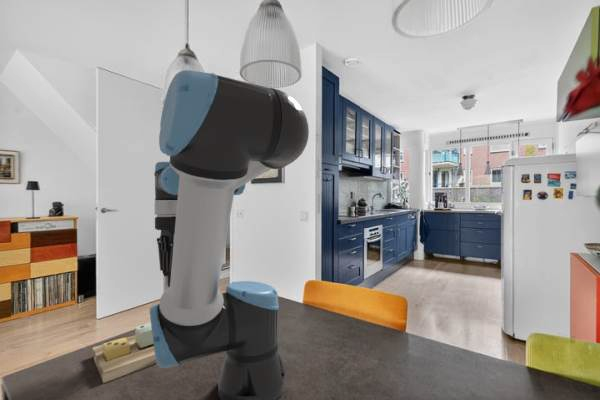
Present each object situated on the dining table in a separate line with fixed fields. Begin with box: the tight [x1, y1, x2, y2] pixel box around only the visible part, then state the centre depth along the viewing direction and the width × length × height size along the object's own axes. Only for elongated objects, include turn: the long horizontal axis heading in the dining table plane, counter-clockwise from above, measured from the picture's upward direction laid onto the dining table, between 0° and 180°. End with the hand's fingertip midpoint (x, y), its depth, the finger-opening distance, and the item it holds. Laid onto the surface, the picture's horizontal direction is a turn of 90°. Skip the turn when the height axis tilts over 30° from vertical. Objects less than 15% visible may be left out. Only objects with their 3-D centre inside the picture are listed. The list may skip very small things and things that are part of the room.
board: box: [92, 334, 157, 384], centre depth 79 cm, size 15×23×2 cm, turn 134°
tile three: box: [102, 337, 130, 362], centre depth 74 cm, size 5×5×4 cm
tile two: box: [134, 322, 154, 348], centre depth 79 cm, size 5×5×4 cm
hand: (169, 296), depth 83 cm, fingers closed
